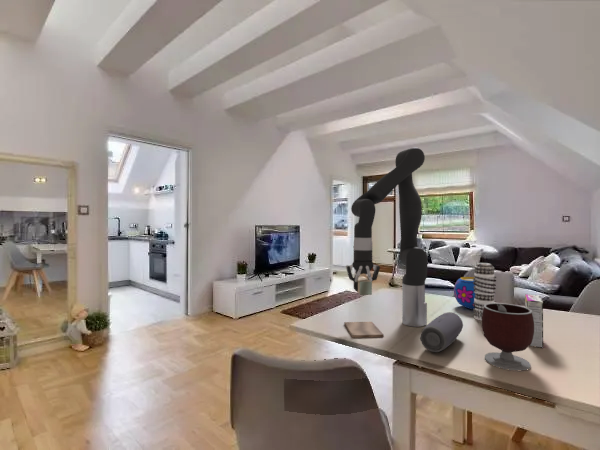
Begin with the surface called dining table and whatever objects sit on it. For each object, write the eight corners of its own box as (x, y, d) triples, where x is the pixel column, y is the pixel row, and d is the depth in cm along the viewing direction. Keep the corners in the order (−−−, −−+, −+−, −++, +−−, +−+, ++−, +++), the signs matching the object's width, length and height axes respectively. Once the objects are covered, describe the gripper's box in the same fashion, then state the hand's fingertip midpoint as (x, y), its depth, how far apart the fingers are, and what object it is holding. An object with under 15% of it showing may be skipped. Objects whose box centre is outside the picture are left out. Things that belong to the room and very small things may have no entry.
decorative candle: (499, 322, 143) (499, 265, 143) (476, 320, 145) (476, 264, 145) (491, 316, 152) (491, 262, 152) (470, 315, 154) (470, 262, 154)
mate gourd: (489, 349, 113) (490, 292, 113) (538, 362, 103) (539, 299, 102) (473, 363, 102) (473, 299, 102) (526, 379, 92) (526, 308, 92)
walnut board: (371, 323, 142) (371, 321, 141) (383, 337, 126) (383, 334, 126) (344, 324, 141) (344, 322, 141) (352, 337, 125) (352, 335, 125)
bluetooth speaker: (438, 334, 129) (438, 308, 129) (464, 339, 123) (464, 312, 123) (418, 352, 111) (418, 322, 111) (447, 359, 105) (447, 328, 105)
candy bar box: (524, 336, 126) (524, 293, 126) (540, 338, 123) (541, 295, 123) (526, 345, 116) (526, 299, 116) (543, 348, 114) (544, 301, 113)
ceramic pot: (492, 315, 154) (492, 283, 154) (451, 309, 163) (451, 279, 163) (493, 306, 169) (493, 277, 168) (455, 302, 178) (455, 274, 178)
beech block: (364, 276, 140) (371, 282, 128) (363, 288, 140) (371, 294, 128) (353, 276, 139) (360, 282, 127) (353, 288, 139) (360, 294, 128)
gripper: (347, 249, 129) (347, 293, 129) (383, 249, 129) (382, 292, 130) (343, 248, 136) (343, 289, 136) (377, 247, 137) (377, 288, 137)
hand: (362, 290), depth 133 cm, fingers closed on beech block, 4 cm apart
